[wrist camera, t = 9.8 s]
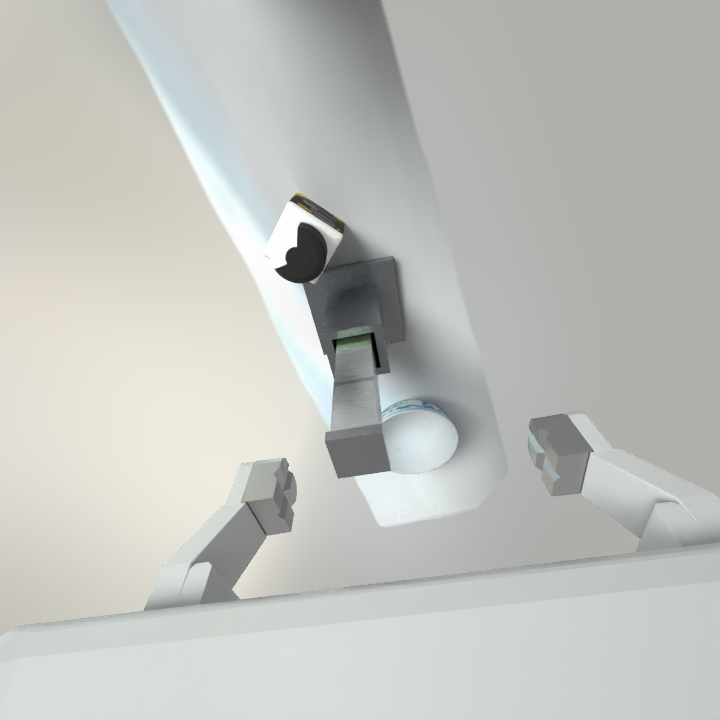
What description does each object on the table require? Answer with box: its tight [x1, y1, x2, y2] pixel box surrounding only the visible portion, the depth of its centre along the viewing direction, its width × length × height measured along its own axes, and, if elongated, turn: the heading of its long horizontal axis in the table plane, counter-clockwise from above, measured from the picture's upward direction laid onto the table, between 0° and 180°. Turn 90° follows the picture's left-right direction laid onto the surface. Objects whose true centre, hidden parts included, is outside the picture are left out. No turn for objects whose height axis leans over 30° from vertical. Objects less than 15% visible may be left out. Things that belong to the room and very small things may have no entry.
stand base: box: [303, 256, 405, 376], centre depth 48 cm, size 13×13×14 cm
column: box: [325, 333, 391, 478], centre depth 38 cm, size 5×5×22 cm
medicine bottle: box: [263, 193, 344, 284], centre depth 43 cm, size 7×7×12 cm
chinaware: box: [381, 400, 458, 474], centre depth 62 cm, size 15×15×8 cm
